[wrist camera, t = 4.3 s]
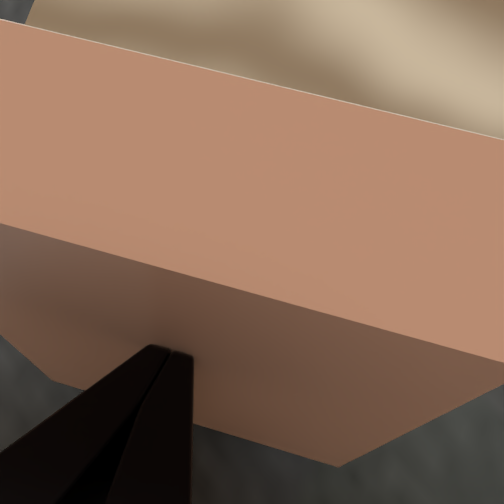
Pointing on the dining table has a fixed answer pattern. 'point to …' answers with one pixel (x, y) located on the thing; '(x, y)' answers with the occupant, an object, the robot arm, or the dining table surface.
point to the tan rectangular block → (247, 243)
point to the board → (321, 47)
